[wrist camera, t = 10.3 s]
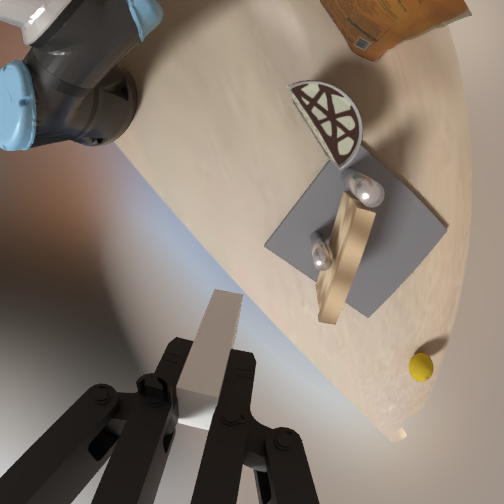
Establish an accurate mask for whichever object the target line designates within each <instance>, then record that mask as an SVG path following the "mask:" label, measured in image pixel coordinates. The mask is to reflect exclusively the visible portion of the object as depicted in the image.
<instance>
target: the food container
mask: <svg viewBox="0 0 504 504" xmlns="http://www.w3.org/2000/svg"><path fill="white" fill-rule="evenodd" d="M287 87H289V89H290V94H291V99H292V103H293V105H294V106H295V108H296V109H297V111H298V112H299V114H300V115H301V117H302V118H303V120H304V121H305V123H306V124H307V126H308V128H309V129H310V131H311V132H312V134H313V136H314V137H315V139H316V141H317V142H318V144H319V146H320V147H321V149H322V151H323V152H324V154H325V155H326V156H327V157H328V158H329V159H330V160H331V161H332V162H333V163H334V164H335V165H336V166H338V167H339V170H341V169H342V168H344V167H345V166H346V165H347V164H349V163H350V162H351V161H352V159H353V158H354V157H355V156H356V154H357V152H358V150H359V148H360V146H361V143H362V138H363V123H362V118H361V115H360V112H359V110H358V108H357V106H356V105H355V103H354V102H353V100H352V99H351V98H350V97H349V96H348V95H347V94H346V93H345V92H344V91H342V90H341V89H339V88H338V87H336V86H334V85H332V84H329V83H326V82H322V81H315V80H306V81H300V82H296V83H293V84H290V85H288V86H287Z"/></svg>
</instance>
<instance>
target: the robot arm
mask: <svg viewBox="0 0 504 504" xmlns="http://www.w3.org/2000/svg"><path fill="white" fill-rule="evenodd" d="M163 16H164V12H163V9H162V7H161V5H160V4H159V3H158V1H157V0H0V20H2V21H5V22H7V23H10V24H13V25H16V26H19V27H21V29H22V33H23V39H24V43H25V44H27V45H29V46H32V48H31V49H30V51H29V52H28V54H27V55H26V57H25V58H24V59H23V61H21V60H14V61H13V62H9V63H8V64H7V65H5V66H4V67H3V68H2V69H1V70H0V147H1V148H2V149H4V150H7V151H13V150H20V149H21V150H27V149H29V148H33V147H37V146H42V145H46V144H51V143H57V142H62V141H67V140H71V141H74V142H77V143H79V144H82V145H85V146H100V145H106V144H109V143H111V142H113V141H115V140H116V139H117V138H119V137H120V136H121V135H122V134H123V133H124V131H125V130H126V129H127V127H128V126H129V124H130V122H131V120H132V118H133V116H134V113H135V109H136V104H137V91H136V86H135V83H134V81H133V79H132V77H131V75H130V74H129V73H128V72H127V71H126V70H124V69H123V68H121V67H118V66H116V65H117V64H118V63H119V62H120V61H121V60H122V59H123V58H124V57H125V56H126V55H127V54H128V53H129V52H130V51H131V50H132V49H133V48H134V47H135V46H136V45H137V44H138V43H139V42H143V41H144V39H145V37H146V36H147V35H148V34H149V33H150V32H151V31H152V30H153V29H154V28H155V27H157V26H158V25H159V24H160V23H161V21H162V19H163ZM242 298H243V295H242V294H237V293H232V292H227V291H222V290H216V289H215V290H214V292H213V295H212V297H211V299H210V302H209V304H208V307H207V310H206V312H205V314H204V317H203V319H202V322H201V324H200V327H199V329H198V332H197V334H196V337H195V340H194V341H190V340H186V339H182V338H178V337H176V338H175V339H174V340H172V341H171V342H170V343H169V344H168V346H167V348H166V350H165V353H164V354H163V356H162V359H161V360H160V362H159V364H158V366H157V368H156V371H155V373H150V374H145V375H143V376H141V377H140V378H139V379H138V380H137V381H136V384H137V388H138V392H136V393H120V392H116V390H115V389H114V388H113V387H112V386H109V385H107V384H96V385H94V386H92V387H91V388H89V389H88V390H87V391H86V392H85V393H84V394H83V395H82V396H81V397H80V398H79V399H78V400H77V401H76V402H75V403H74V404H73V405H72V406H71V407H70V408H69V409H68V410H67V411H66V412H65V413H64V414H63V415H62V416H61V417H60V418H59V419H58V420H57V421H56V422H55V423H54V424H53V425H52V426H51V427H50V428H49V429H48V430H47V431H46V432H45V433H44V434H43V435H42V436H41V437H40V438H39V439H38V440H37V441H36V442H35V443H34V444H33V445H32V446H31V447H30V448H29V449H28V450H27V451H26V452H25V453H24V454H23V455H22V456H21V457H20V458H19V459H18V460H17V461H16V462H15V463H14V464H13V466H11V467H10V468H9V469H8V470H7V472H6V473H5V474H4V475H3V476H2V477H1V478H0V504H71V503H72V501H73V500H74V499H75V498H76V497H77V495H78V494H79V493H80V492H81V491H82V490H83V488H84V487H85V486H86V485H87V484H88V483H89V481H90V480H91V479H92V478H93V477H94V475H95V474H96V473H97V472H98V470H99V469H100V468H101V467H102V466H103V465H104V463H105V462H106V461H107V460H108V458H109V457H110V456H111V457H110V459H109V462H108V464H107V467H106V469H105V471H104V473H103V476H102V478H101V481H100V483H99V486H98V488H97V490H96V493H95V495H94V498H93V500H92V503H91V504H153V503H154V500H155V496H156V493H157V490H158V487H159V483H160V480H161V477H162V474H163V471H164V468H165V465H166V461H167V458H168V455H169V452H170V449H171V446H172V443H173V439H174V436H175V430H176V429H175V426H176V424H177V420H178V422H179V423H181V424H185V425H189V426H193V427H197V428H201V429H205V430H209V432H208V436H207V440H206V444H205V448H204V452H203V456H202V460H201V464H200V468H199V472H198V476H197V480H196V484H195V489H194V492H193V496H192V500H191V504H236V502H237V496H238V490H239V484H240V478H241V471H242V465H243V464H244V465H246V466H248V467H250V468H253V469H254V475H255V480H256V487H257V492H258V498H259V504H319V500H318V497H317V494H316V490H315V486H314V483H313V479H312V475H311V472H310V468H309V465H308V461H307V457H306V454H305V450H304V447H303V443H302V440H301V438H300V436H299V434H298V433H296V432H295V431H294V430H292V429H289V428H285V427H279V428H275V429H271V428H269V427H267V426H264V425H262V424H260V423H259V422H257V421H256V420H255V419H254V417H253V416H252V414H251V411H250V403H251V396H252V389H253V382H254V375H255V367H256V360H255V358H254V355H253V353H250V352H245V351H240V350H234V349H233V346H234V341H235V337H236V332H237V327H238V321H239V315H240V309H241V302H242Z"/></svg>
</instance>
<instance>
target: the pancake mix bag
mask: <svg viewBox="0 0 504 504" xmlns="http://www.w3.org/2000/svg"><path fill="white" fill-rule="evenodd" d="M320 2H321V4H322V5H323V6H324V8H325V9H326V11H327V12H328V13H329V15H330V16H331V18H332V19H333V21H334V22H335V24H336V25H337V27H338V28H339V30H340V31H341V33H342V34H343V36H344V37H345V39H346V41H347V43H348V45H349V46H350V48H351V50H352V51H353V52H355V53H356V54H358V55H359V56H361V57H363V58H366V59H368V60H371V61H374V62H377V60H378V58H379V57H380V56H381V55H382V53H383V52H384V51H385V50H387V49H391V48H393V47H394V46H396V45H398V44H399V43H401V42H403V41H405V40H409V39H413V38H416V37H418V36H421V35H423V34H425V33H427V32H429V31H431V30H433V29H435V28H439V27H444V26H446V25H448V24H450V23H452V22H454V21H457V20H459V19H462V18H464V17H467V16H471V15H472V14H471V12H470V10H469V8H468V6H467V5H466V3H465V2H464V0H320Z"/></svg>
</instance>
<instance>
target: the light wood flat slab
mask: <svg viewBox="0 0 504 504" xmlns="http://www.w3.org/2000/svg"><path fill="white" fill-rule="evenodd" d="M375 215H376V213H375V212H374V211H373V210H371V209H370V208H369V207H367V206H365V205H364V204H363V203H362V202H361V201H360V200H359V199H358V198H357V197H356V196H355V195H354V194H353V193H350V192H347V191H343V194H342V197H341V201H340V205H339V209H338V212H337V216H336V219H335V223H334V226H333V230H332V233H331V237H330V240H329V244H328V250H329V253H330V256H331V260H332V265H331V267H330V268H329V269H328V270H326V271H320V273H319V276H318V279H317V282H316V291H317V298H318V305H319V314H318V320H319V322H323V323H328V324H334V325H335V324H336V322H337V319H338V317H339V315H340V312H341V310H342V307H343V305H344V303H345V300H346V298H347V295H348V292H349V290H350V287H351V285H352V282H353V279H354V277H355V274H356V271H357V269H358V266H359V263H360V260H361V257H362V255H363V252H364V249H365V246H366V243H367V240H368V237H369V234H370V231H371V228H372V225H373V221H374V218H375Z"/></svg>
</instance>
